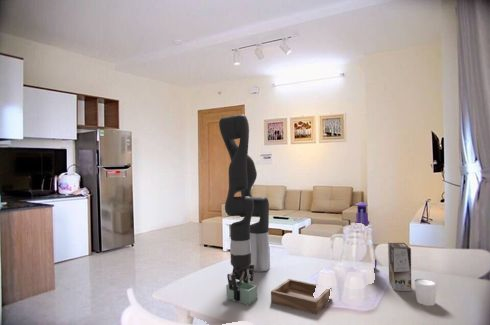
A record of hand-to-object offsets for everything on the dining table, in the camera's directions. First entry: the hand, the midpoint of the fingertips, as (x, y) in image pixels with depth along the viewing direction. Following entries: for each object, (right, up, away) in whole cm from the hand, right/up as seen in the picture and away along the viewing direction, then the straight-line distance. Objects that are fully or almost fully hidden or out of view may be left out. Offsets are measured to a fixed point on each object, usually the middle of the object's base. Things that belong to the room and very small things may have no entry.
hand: (241, 297), depth 121 cm
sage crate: (0, -1, 0) cm, 1 cm away
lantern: (+55, +1, +30) cm, 63 cm away
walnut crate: (+21, 0, -3) cm, 21 cm away
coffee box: (+61, +1, +8) cm, 62 cm away
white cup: (+64, +1, -6) cm, 64 cm away
